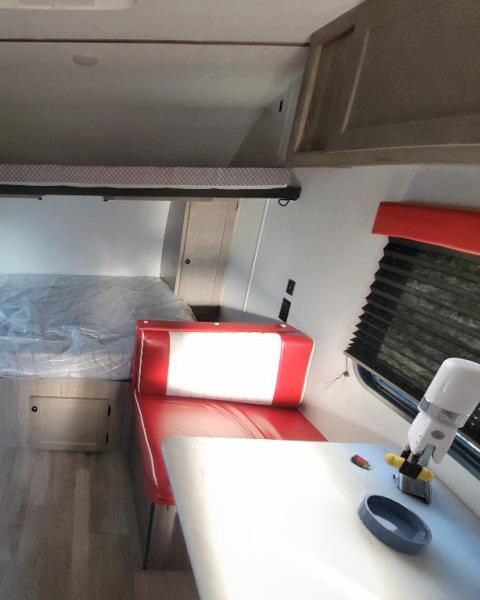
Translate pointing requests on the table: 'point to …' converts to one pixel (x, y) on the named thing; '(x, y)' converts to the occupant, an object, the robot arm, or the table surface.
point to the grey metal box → (414, 486)
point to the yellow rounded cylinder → (398, 461)
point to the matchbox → (360, 461)
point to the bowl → (394, 524)
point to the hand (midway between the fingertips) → (406, 470)
